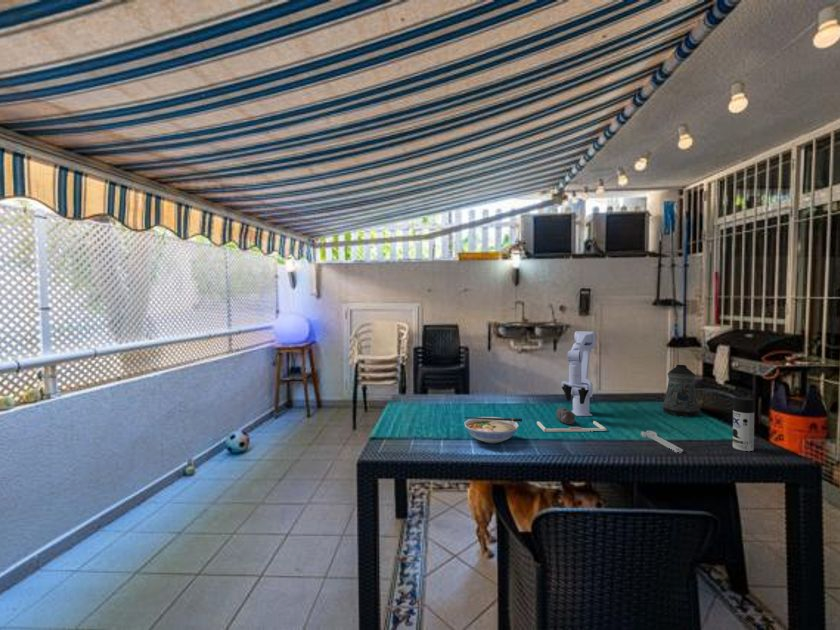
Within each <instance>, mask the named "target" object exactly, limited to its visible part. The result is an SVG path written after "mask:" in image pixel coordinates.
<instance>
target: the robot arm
mask: <svg viewBox="0 0 840 630" xmlns="http://www.w3.org/2000/svg"><path fill="white" fill-rule="evenodd" d="M573 337H574V338H573V339H574V343H573V344H572V347H571V349H570V350H568V351H567V355H566V356H567V365H568V381H566V380H562V381H561V389H562V390H563V393H564V395H565V399H566V401H567V402H569V401H571V400H572V410H571V411H572V412H573V414H574V416H576V417H593V414H592V413H590V398H591V397H592V396H593V393H594V392H593V391H594V390H593V382H592V381H591V380H589V379H588V377H589V365H590V364H589V363H590V356H591V355H590V353H591V350H593V349H594V348H595V345H596V333H595V331H583V330H581V331H580V330H576V331H574V336H573ZM572 396H573V398H572Z"/></svg>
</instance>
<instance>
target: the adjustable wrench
mask: <svg viewBox="0 0 840 630" xmlns="http://www.w3.org/2000/svg"><path fill="white" fill-rule="evenodd" d="M640 436H642V438H648V439H651V440H654V441H656V442H657V443H659V444H660V445H661V446H662V445H663V446H664V447H666V448H667V449H669V448H670V450H671V449H672V450H671V451H673V450H674V451H673V452H674V453H677V452H679V453H678V454H683V453H684V449H682V448H681V447H678V446H677V445H675V444H673V443H671V442H669V441H668V440H666V439H664V438H662V437H660V436H658V434H657V432H656V431H654V430H646V431H642V430H641V431H640ZM682 452H683V453H682Z"/></svg>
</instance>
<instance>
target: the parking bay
mask: <svg viewBox="0 0 840 630" xmlns="http://www.w3.org/2000/svg"><path fill="white" fill-rule="evenodd" d="M592 423H593V425H594V426H596V427H597V428H596V427H590V428H582V427H581V426H570V427H568V428H546V427H545V426H544V425H543V424H542V422H540V421H536V425H537V426H538V427H539V428H540V430H542V431H543V432H544V433H567V432H568V433H572V432H573V433H575V432H576V433H581V432H585V433H586V432H587V433H591V432H593V431H608V428H606V427H605V426H603V425H602V424H600V423H599V422H597V421H596V420H593V421H592ZM590 431H591V432H590ZM593 433H594V432H593Z"/></svg>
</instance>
